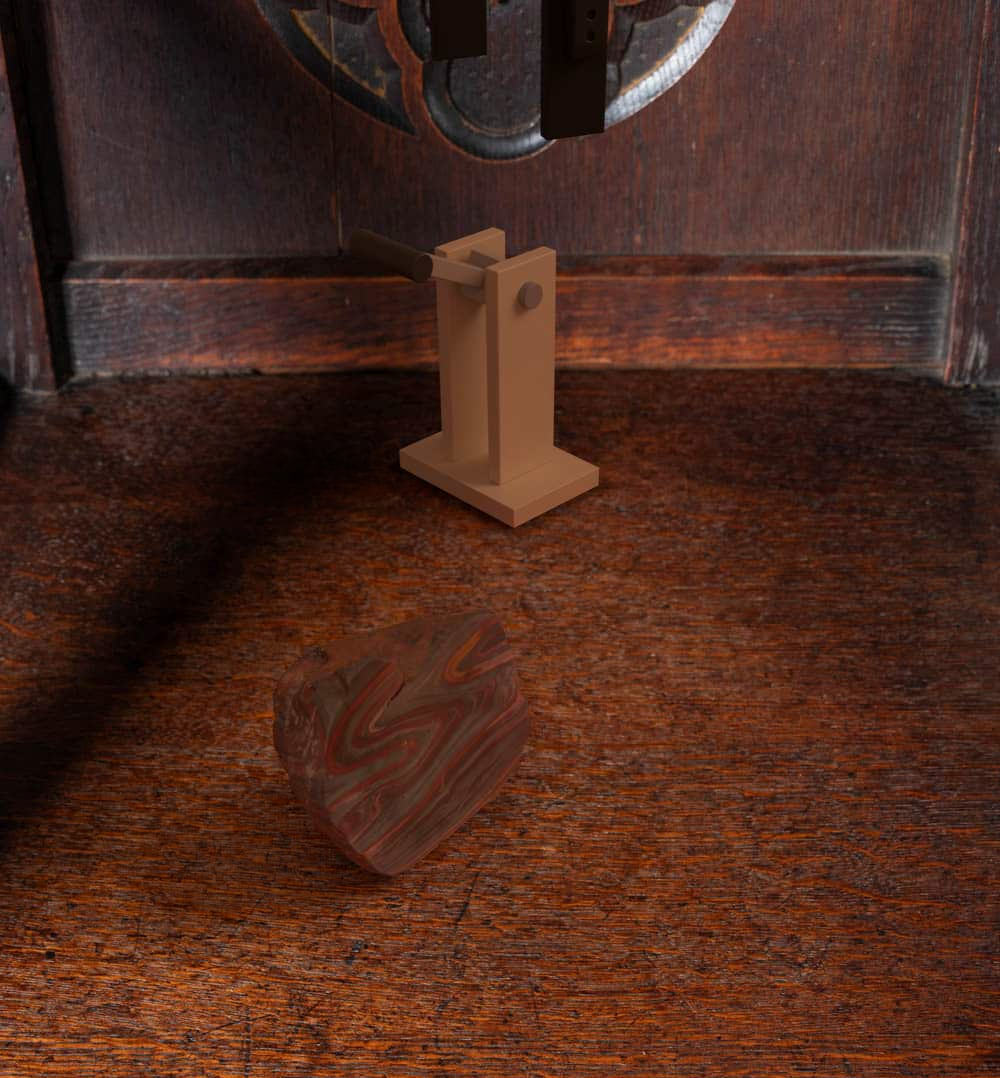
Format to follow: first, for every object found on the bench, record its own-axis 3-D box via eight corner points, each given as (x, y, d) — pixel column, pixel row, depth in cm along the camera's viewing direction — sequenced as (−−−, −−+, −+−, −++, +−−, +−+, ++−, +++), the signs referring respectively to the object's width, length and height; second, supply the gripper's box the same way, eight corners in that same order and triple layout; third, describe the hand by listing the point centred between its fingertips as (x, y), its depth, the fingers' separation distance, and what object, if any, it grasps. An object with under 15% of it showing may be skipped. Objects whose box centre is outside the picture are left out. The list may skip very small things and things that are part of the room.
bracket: (513, 528, 82) (512, 292, 73) (400, 467, 87) (385, 241, 78) (598, 485, 85) (607, 255, 77) (484, 429, 91) (479, 209, 82)
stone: (360, 932, 58) (339, 740, 51) (213, 845, 62) (176, 657, 55) (543, 768, 65) (545, 584, 59) (402, 701, 69) (389, 521, 63)
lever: (405, 290, 71) (419, 241, 70) (342, 263, 74) (355, 216, 73) (537, 319, 79) (551, 276, 78) (475, 294, 82) (488, 251, 81)
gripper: (770, -531, 45) (712, 162, 59) (479, -506, 63) (486, 22, 77) (553, -532, 43) (545, 187, 57) (315, -506, 61) (352, 37, 75)
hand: (511, 93), depth 67 cm, fingers open, 13 cm apart
